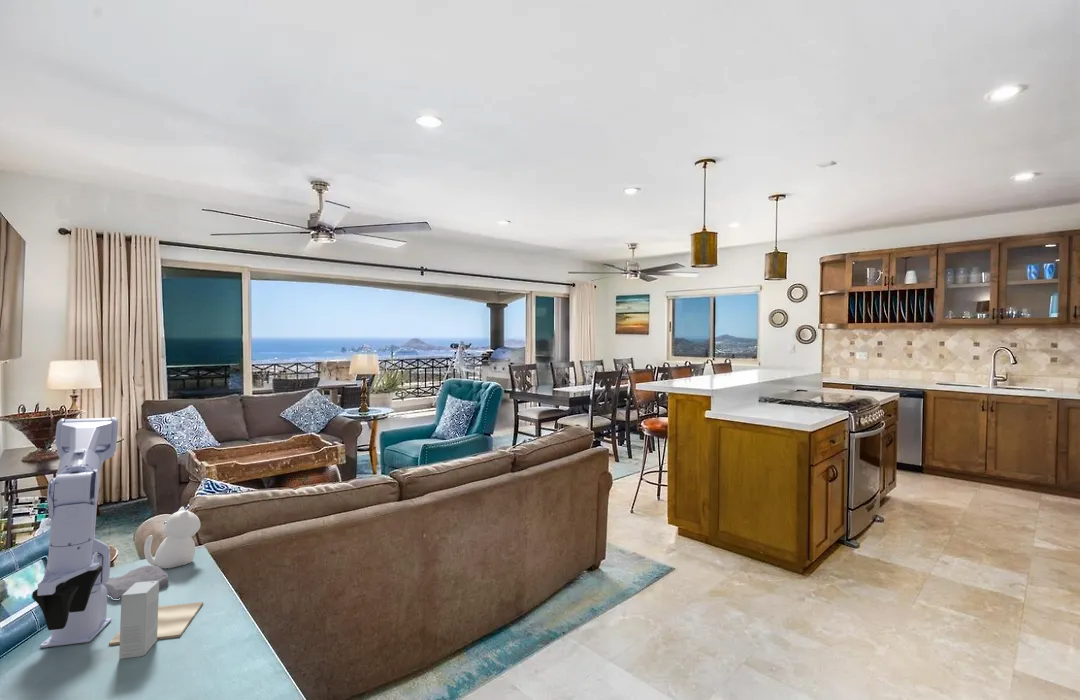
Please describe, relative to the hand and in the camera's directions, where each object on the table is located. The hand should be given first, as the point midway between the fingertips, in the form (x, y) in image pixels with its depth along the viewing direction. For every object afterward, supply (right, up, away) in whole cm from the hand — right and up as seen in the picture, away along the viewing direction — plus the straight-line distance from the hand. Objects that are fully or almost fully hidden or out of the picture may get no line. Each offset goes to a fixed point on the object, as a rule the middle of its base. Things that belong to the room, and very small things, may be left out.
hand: (67, 619), depth 91 cm
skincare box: (+5, -11, +10) cm, 15 cm away
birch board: (+2, -11, +20) cm, 23 cm away
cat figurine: (-18, -12, +51) cm, 55 cm away
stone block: (-15, -12, +35) cm, 40 cm away
